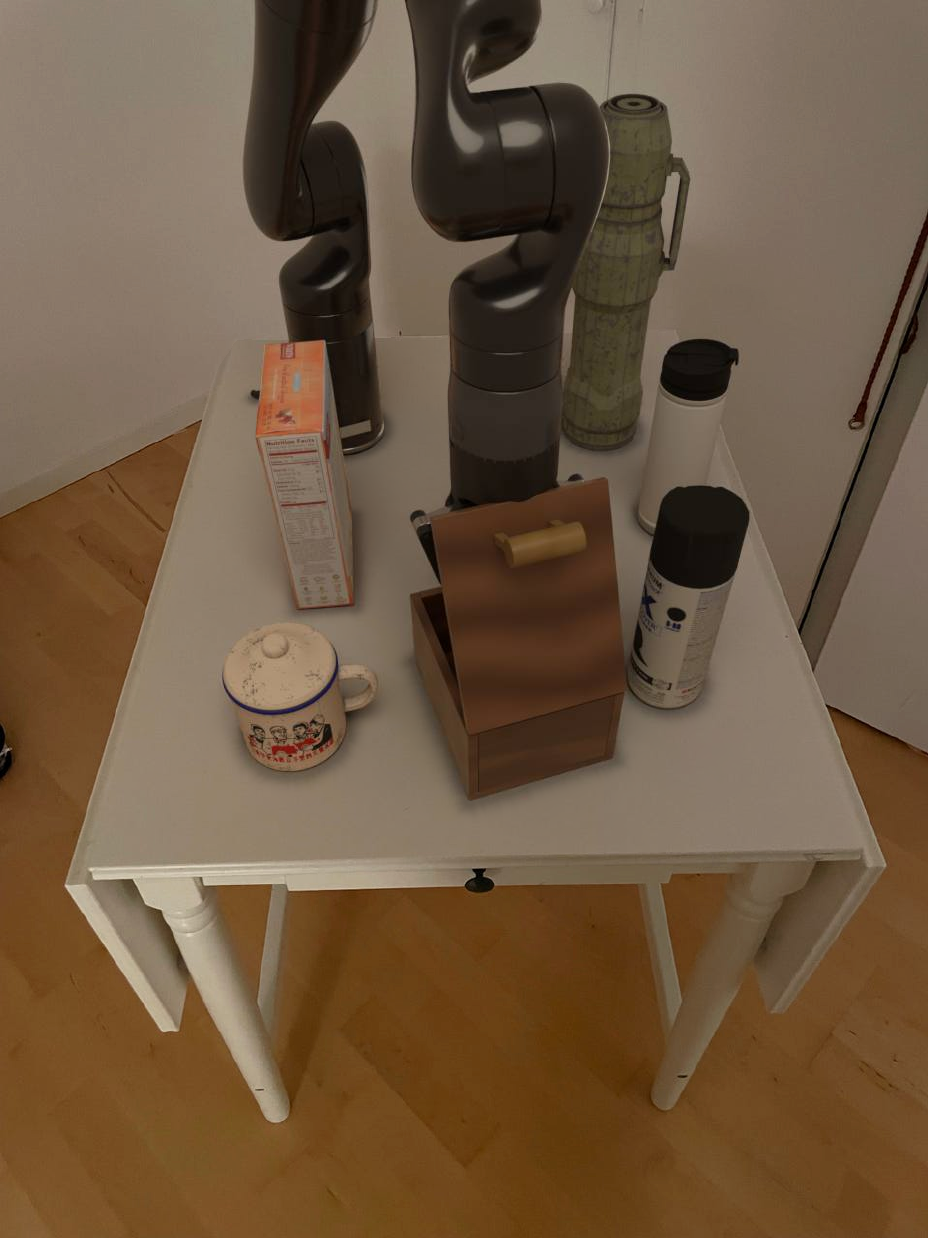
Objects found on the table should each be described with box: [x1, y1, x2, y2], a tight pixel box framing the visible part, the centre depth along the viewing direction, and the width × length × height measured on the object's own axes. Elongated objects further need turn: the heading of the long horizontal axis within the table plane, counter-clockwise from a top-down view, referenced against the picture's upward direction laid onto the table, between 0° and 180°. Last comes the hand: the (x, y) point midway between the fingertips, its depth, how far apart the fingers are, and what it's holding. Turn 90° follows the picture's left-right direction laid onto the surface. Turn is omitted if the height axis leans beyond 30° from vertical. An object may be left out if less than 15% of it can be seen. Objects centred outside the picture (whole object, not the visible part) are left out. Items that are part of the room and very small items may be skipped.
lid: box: [430, 476, 628, 735], centre depth 63 cm, size 16×13×5 cm
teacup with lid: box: [221, 622, 379, 772], centre depth 74 cm, size 12×9×12 cm
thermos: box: [561, 93, 691, 452], centre depth 95 cm, size 9×12×35 cm
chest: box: [409, 585, 625, 801], centre depth 77 cm, size 16×13×9 cm
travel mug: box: [637, 338, 740, 536], centre depth 89 cm, size 6×7×20 cm
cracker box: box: [254, 340, 355, 610], centre depth 85 cm, size 14×6×21 cm, turn 5°
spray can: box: [627, 485, 751, 710], centre depth 74 cm, size 7×7×20 cm
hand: (501, 599), depth 73 cm, fingers closed on block, 4 cm apart
